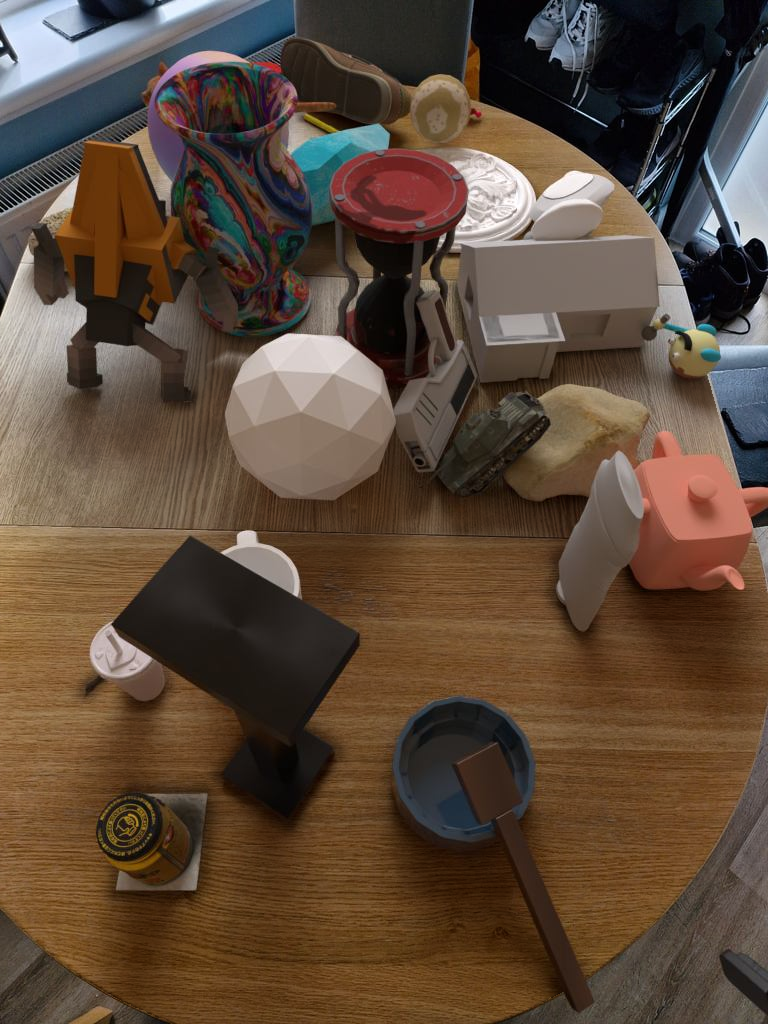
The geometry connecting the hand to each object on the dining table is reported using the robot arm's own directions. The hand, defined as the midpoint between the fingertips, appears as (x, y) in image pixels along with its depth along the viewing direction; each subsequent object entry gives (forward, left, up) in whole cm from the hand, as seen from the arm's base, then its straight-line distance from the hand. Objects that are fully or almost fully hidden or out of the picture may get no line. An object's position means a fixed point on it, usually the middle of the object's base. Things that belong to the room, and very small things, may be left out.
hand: (673, 999), depth 47 cm
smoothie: (+2, +51, -22) cm, 55 cm away
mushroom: (+115, +74, -16) cm, 138 cm away
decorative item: (+48, +101, -21) cm, 113 cm away
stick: (+2, +57, -21) cm, 60 cm away
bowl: (+11, +18, -21) cm, 30 cm away
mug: (+14, +45, -22) cm, 52 cm away
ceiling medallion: (+94, +64, -21) cm, 116 cm away
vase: (+56, +77, -21) cm, 97 cm away
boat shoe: (+103, +96, -16) cm, 142 cm away
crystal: (+63, +81, -16) cm, 103 cm away
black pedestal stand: (+3, +34, -21) cm, 41 cm away
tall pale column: (+36, +17, -21) cm, 45 cm away
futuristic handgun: (+50, +48, -7) cm, 70 cm away
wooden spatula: (+5, +9, -17) cm, 21 cm away
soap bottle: (+81, +40, -10) cm, 91 cm away
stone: (+53, +25, -21) cm, 63 cm away
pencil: (+99, +91, -22) cm, 136 cm away
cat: (+81, +96, -21) cm, 127 cm away
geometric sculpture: (+35, +52, -21) cm, 66 cm away
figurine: (+77, +18, -14) cm, 80 cm away
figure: (+112, +81, -18) cm, 139 cm away
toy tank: (+46, +33, -18) cm, 59 cm away
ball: (+78, +89, -1) cm, 118 cm away
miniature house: (+75, +37, -21) cm, 86 cm away
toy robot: (+33, +80, -21) cm, 89 cm away
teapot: (+47, +10, -22) cm, 52 cm away
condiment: (-9, +39, -22) cm, 46 cm away
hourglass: (+59, +55, -21) cm, 83 cm away
